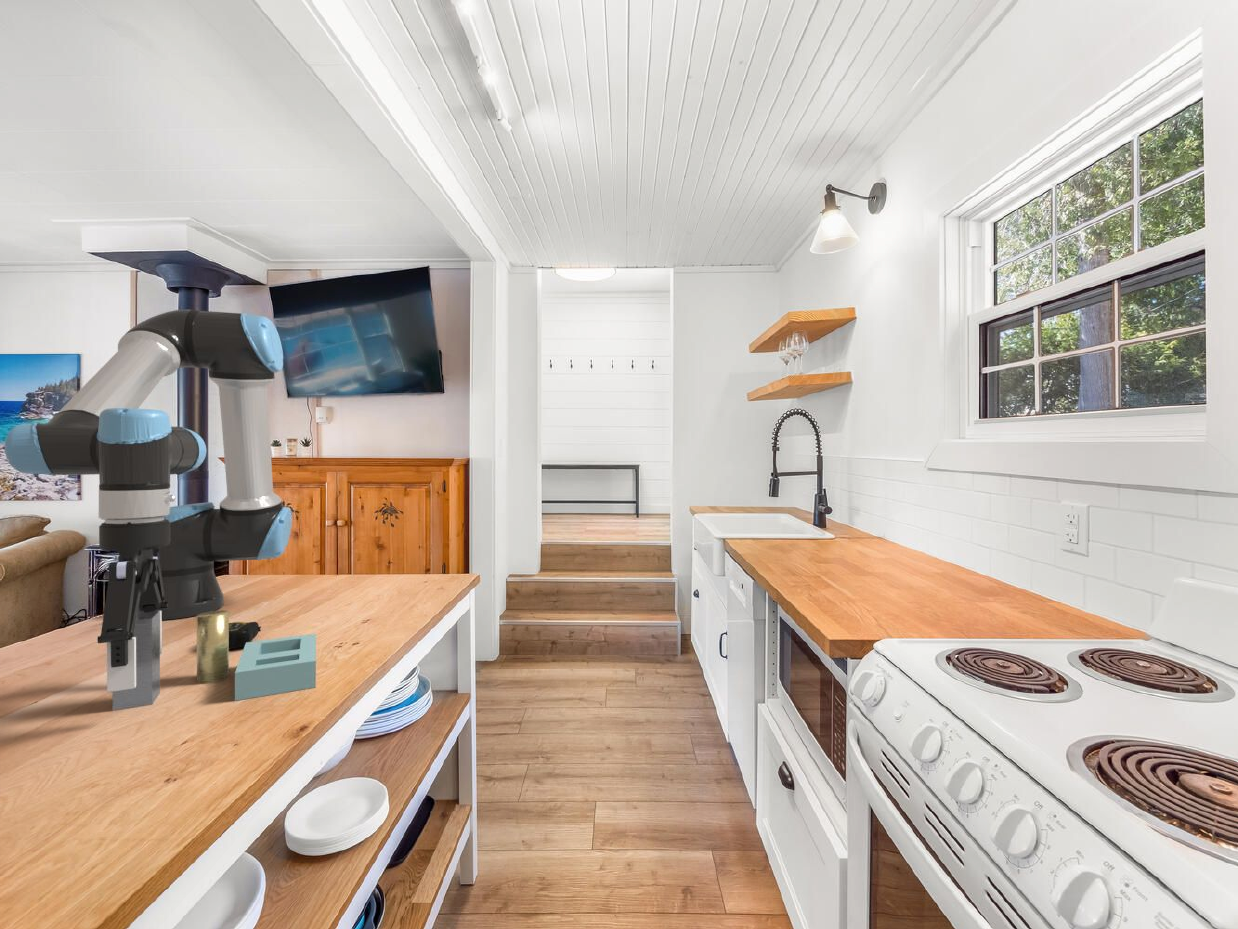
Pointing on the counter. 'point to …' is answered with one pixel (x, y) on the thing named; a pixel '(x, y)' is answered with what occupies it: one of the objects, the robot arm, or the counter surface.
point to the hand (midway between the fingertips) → (136, 671)
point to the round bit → (212, 646)
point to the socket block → (276, 666)
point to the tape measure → (242, 633)
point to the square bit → (143, 664)
